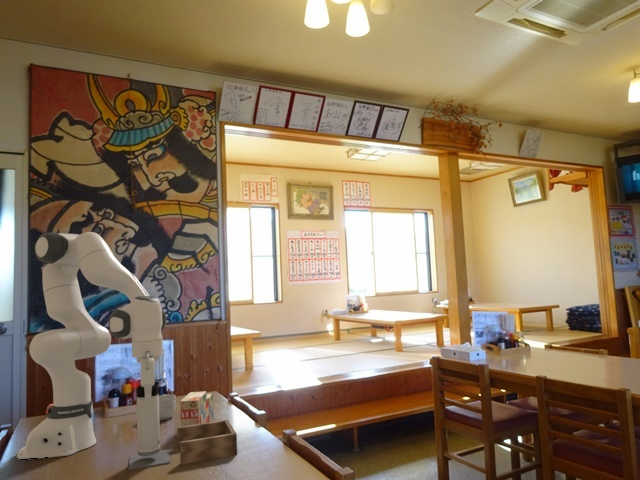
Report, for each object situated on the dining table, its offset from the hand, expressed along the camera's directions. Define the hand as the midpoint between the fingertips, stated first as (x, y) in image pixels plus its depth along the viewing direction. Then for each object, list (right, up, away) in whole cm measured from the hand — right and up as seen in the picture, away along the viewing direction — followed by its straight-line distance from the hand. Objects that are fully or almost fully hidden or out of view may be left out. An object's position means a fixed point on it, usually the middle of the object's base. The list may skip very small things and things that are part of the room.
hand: (148, 396), depth 138 cm
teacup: (-11, -24, +44) cm, 51 cm away
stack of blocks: (+7, -21, +29) cm, 37 cm away
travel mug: (+1, -16, -2) cm, 17 cm away
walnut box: (+16, -18, +4) cm, 24 cm away
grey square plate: (+1, -18, -2) cm, 18 cm away
